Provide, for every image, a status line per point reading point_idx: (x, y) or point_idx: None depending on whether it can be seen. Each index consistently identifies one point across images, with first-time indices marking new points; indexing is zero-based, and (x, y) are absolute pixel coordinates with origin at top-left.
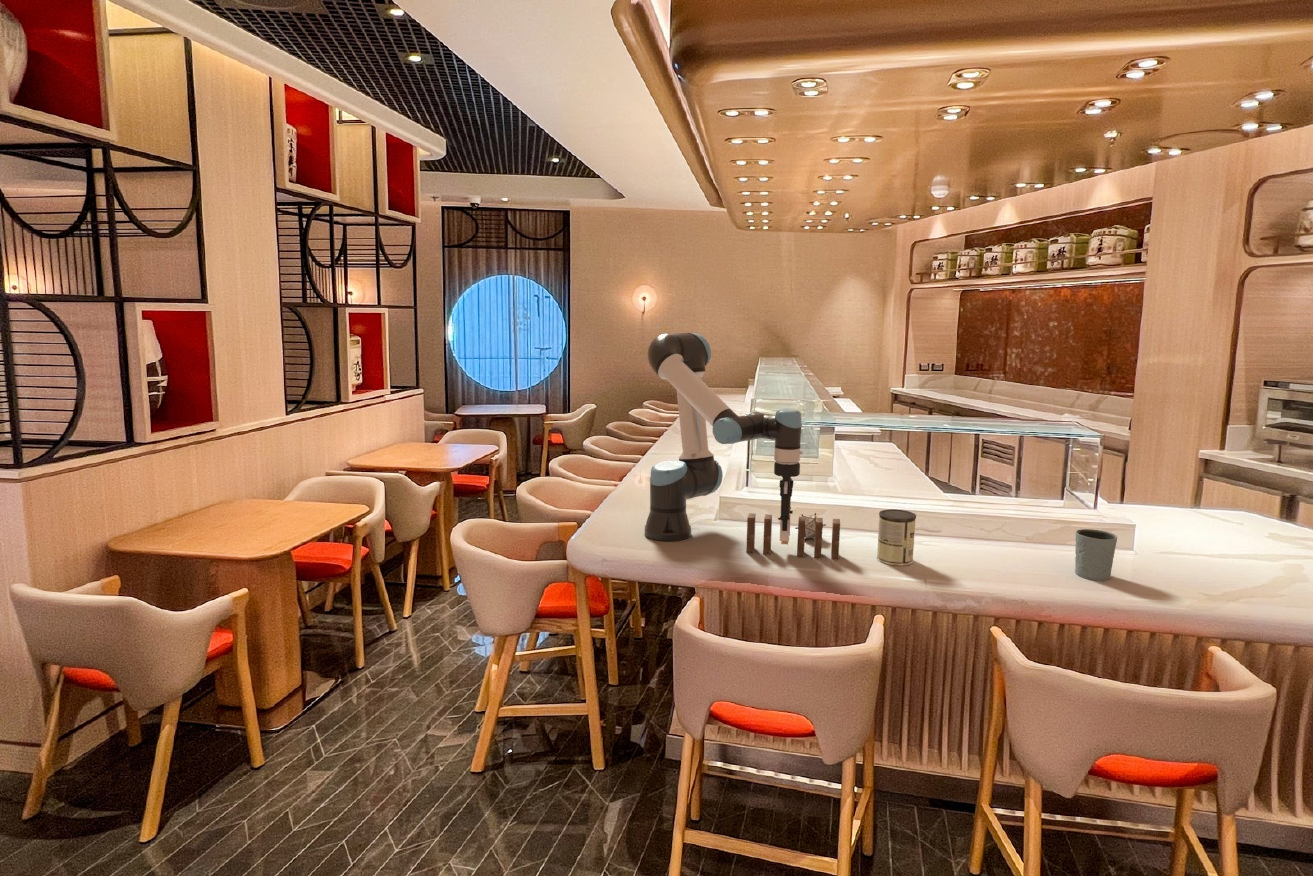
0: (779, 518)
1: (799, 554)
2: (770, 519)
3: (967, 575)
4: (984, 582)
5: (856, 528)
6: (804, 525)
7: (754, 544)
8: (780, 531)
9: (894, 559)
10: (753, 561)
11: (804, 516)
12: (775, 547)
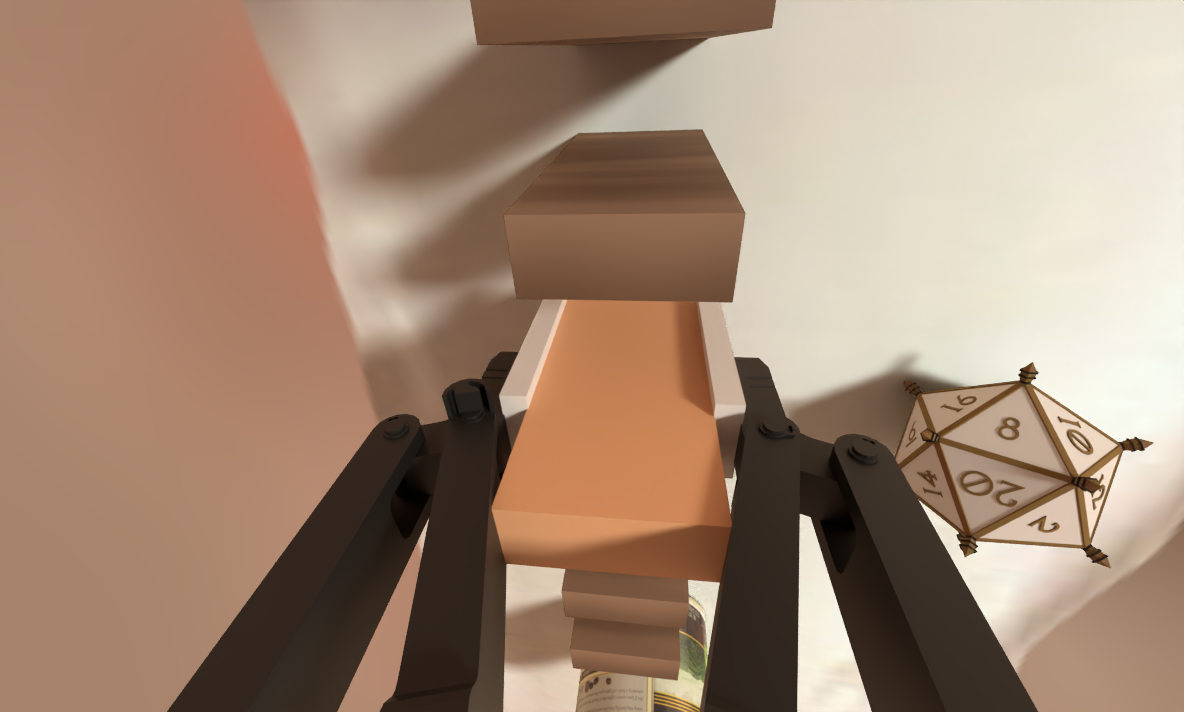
0: (447, 402)
1: None
2: (515, 290)
3: (564, 688)
4: (527, 696)
5: (1103, 587)
6: None
7: (707, 37)
8: (531, 331)
9: None
10: (400, 77)
11: (1062, 491)
12: (751, 211)
